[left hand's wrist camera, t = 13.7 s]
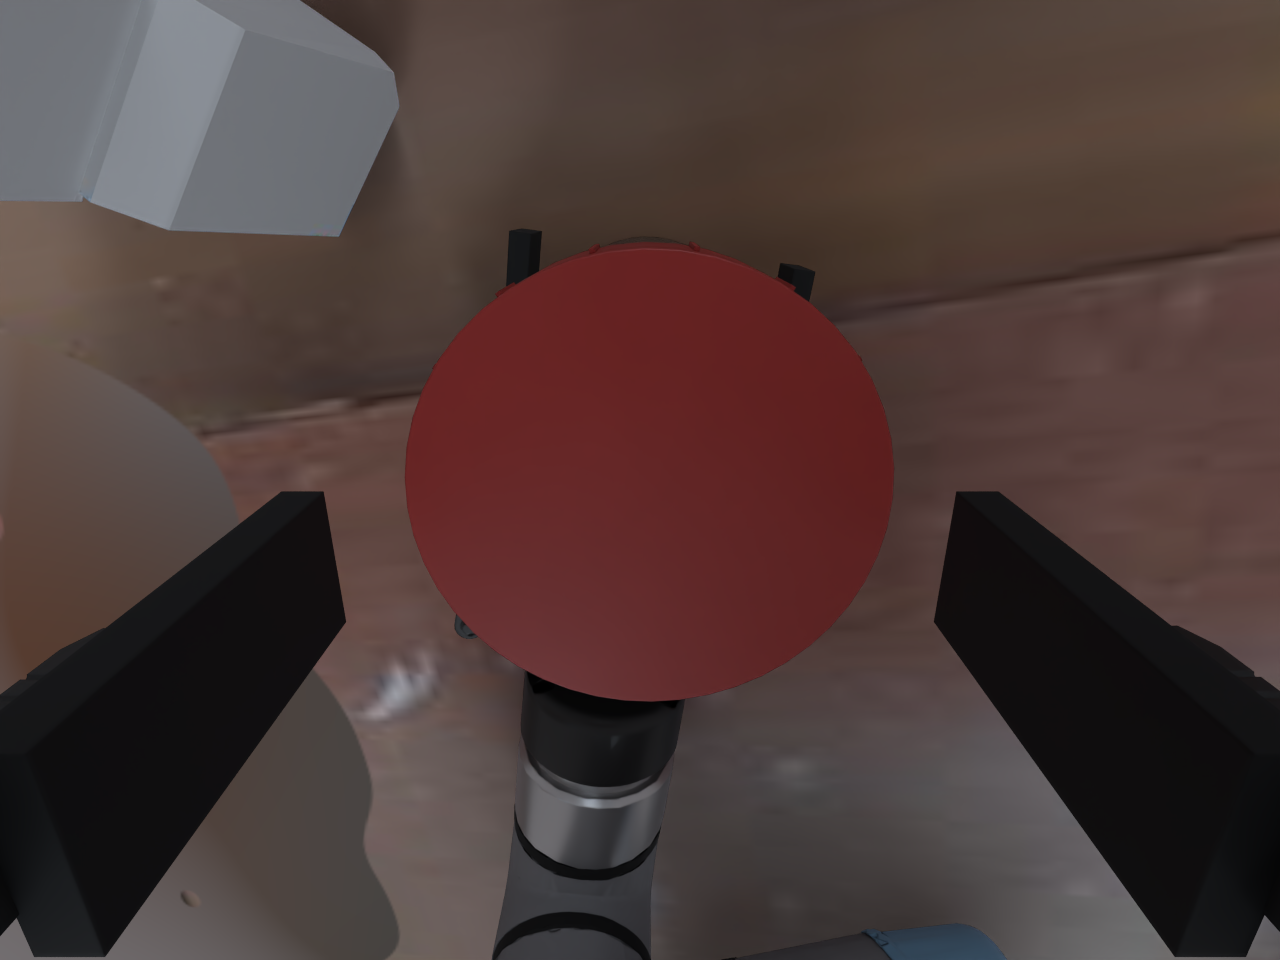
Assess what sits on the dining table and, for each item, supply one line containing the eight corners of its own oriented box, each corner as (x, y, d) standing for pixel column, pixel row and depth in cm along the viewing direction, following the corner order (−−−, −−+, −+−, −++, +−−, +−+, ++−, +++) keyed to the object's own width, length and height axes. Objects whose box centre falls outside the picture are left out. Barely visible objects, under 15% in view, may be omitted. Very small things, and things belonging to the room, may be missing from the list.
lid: (777, 158, 15) (800, 149, 12) (913, 563, 18) (950, 612, 16) (353, 356, 16) (307, 379, 14) (552, 694, 20) (540, 755, 17)
